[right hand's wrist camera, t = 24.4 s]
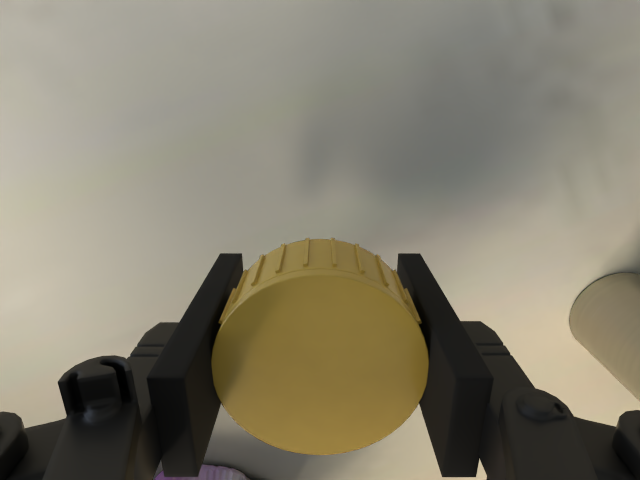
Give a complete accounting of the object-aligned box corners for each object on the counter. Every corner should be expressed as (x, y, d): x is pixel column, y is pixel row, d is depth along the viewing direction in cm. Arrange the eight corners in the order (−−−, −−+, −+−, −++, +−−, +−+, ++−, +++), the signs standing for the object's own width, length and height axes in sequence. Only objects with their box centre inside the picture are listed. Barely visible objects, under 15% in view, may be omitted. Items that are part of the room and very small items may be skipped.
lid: (426, 376, 13) (448, 436, 11) (259, 410, 14) (247, 474, 12) (393, 215, 11) (411, 247, 9) (201, 261, 12) (173, 303, 10)
